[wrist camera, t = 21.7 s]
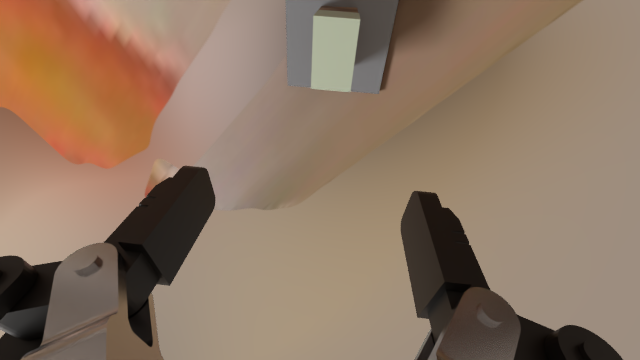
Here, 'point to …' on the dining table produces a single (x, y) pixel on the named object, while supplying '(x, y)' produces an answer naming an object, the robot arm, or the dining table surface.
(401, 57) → the dining table surface
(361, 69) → the plate
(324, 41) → the sage brick
